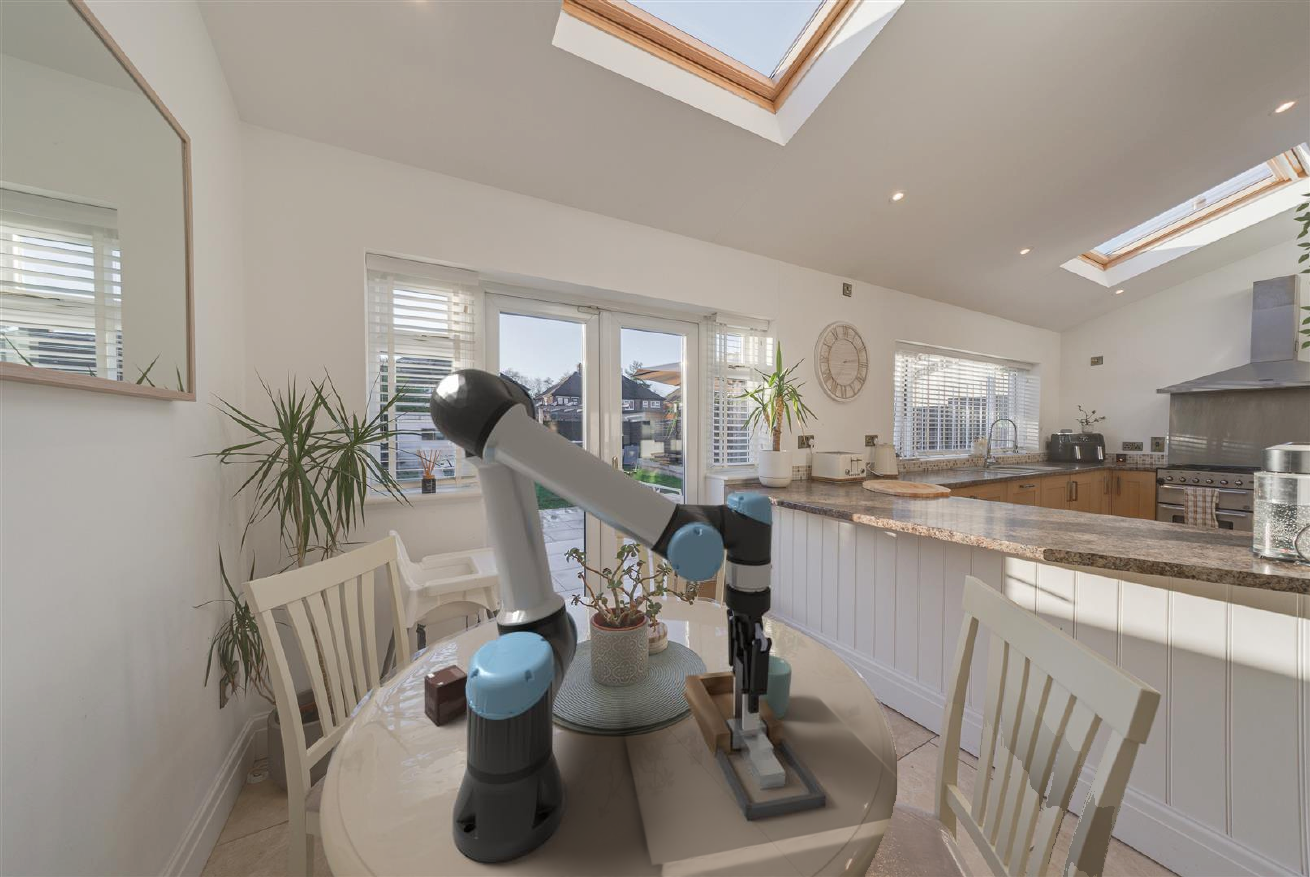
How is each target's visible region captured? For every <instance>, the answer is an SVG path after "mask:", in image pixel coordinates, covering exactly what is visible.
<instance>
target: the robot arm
mask: <svg viewBox="0 0 1310 877" xmlns="http://www.w3.org/2000/svg"><path fill="white" fill-rule="evenodd" d="M537 411H538V410H537V406H536V403H535V401H534V398H533V396H532V395H531V394H530V392H529V391H528V390H527V389H526V388H525V387H524V386H523V385H521V384H520V383H518V382H517V381H515V380H513V379H512V378H508V377H506V376H505V377H504V376H499V375H495V374H493V373H490V372H487V371H484V370H480V369H477V368H463V369H459V370H455V371H453V372H451V373H449V374H447V375H446V376H445V375H444V377H443V378H441V379H440V381H438V383H436V385H435V387H434V388H433V389H432V391H431V396H430V400H429V413H430V418H431V420H432V422H433V425H434V427H435V429H436V430H437V431H438V432H439V433H440V434H441V435H442V436H444V438H446V439H447V440H449V441H450V442H451V443H453V444H455V445H456V446H458V447H460V448H462V449H463V450H464V455H465V459H466V461H467V462H469V463H470V464H472V465H473V466H475V468H476V469H477V470H478V471H477V472H478V477H479V478H478V479H479V482H480V486H481V487H480V488H481V492H482V494H481V495H482V500H483V504H484V508H485V515H486V520H487V525H488V529H489V536H490V541H491V546H492V551H493V557H494V562H495V568H496V573H497V579H498V585H499V590H500V594H501V600H502V608H501V609H500V610H499V612H498V613H497V615H496V617H495V622H496V626H497V632H498V637H497V639H491V640H489V641H487V642H486V643H484V644H483V645H482V646H480V648H479V649H478V650H477V651H476V652H475V653H474V655H473V656H472V658H471V659H470V661H469V662H470V663H469V665H468V670H467V675H468V677H467V683H466V698H467V712H466V769H465V771H464V775H463V778H462V781H461V784H460V787H459V790H458V792H457V796H456V799H455V802H454V805H453V812H452V838H453V840H454V843H455V845H456V847H457V849H458V850H459V851H460V852H461V853H462V854H464V855H465V856H466V855H467V857H468V858H471V859H472V860H475V861H478V862H484V861H485V862H484V863H499V862H506V861H510V860H513V859H517V858H520V857H523V856H525V855H526V854H528V853H530V852H532V851H534V850H536V848H537V847H539V846H541V845H542V844H543V843H544V842H545V841H546V840H548V838H549V837H550V836H551V835H552V834H553V833H554V831H555V830H556V829H557V827H558V825H559V824H560V822H561V820H562V817H563V814H564V810H565V785H564V784H565V783H564V779H563V777H562V773H561V771H560V768H559V765H558V762H557V759H556V756H555V753H554V751H553V750H554V749H553V746H554V744H553V740H554V738H553V736H554V735H553V734H554V707H555V701H556V698H557V695H558V693H559V692H560V690H561V689H560V688H561V687H562V684H563V681H564V679H565V677H566V675H567V673H568V670H569V668H570V667H571V664H572V663H573V660H574V659H575V656H576V652H577V647H578V636H579V634H578V627H577V624H576V622H575V620H574V617H573V616H572V615H571V613H570V612H569V611H567V607H566V601H565V598H564V596H562V595H561V594H560V593H557V592H555V590H554V585H553V584H554V583H553V580H552V574H551V569H550V564H549V558H548V552H547V548H546V542H545V537H544V531H543V525H542V520H541V515H540V509H539V503H538V499H537V494H536V493H537V492H536V487H535V483H537V485H540V486H541V487H543V488H544V489H546V490H548V491H550V492H551V493H554V495H556V496H558V497H559V498H561V499H563V500H564V501H567V502H568V503H569V504H571V505H573V506H575V507H577V508H579V509H580V510H581V511H583V512H585V513H587V514H588V515H590V516H592V518H593V517H594V519H598V521H600V522H602V523H603V524H606V525H607V526H609V527H611V528H612V529H614V530H615V531H617V532H619V533H621V534H622V535H624V536H626V537H628V538H629V539H631V540H633V541H634V542H635V543H637V544H639V545H641V546H643V547H645V548H646V549H647V550H649V551H651V552H653V553H655V554H656V555H657V556H659V557H660V558H662V559H664V560H666V561H667V562H668V563H669V566H670V567H671V568H672V569H673V571H675V573H676V574H677V576H679V577H680V578H681V579H684V580H686V581H688V582H695V583H697V582H705V581H707V580H708V579H711V578H712V577H714V576H715V575H716V574H717V573H718V572H719V571H720V570H721V568H722V566H723V562H724V558H725V581H726V585H725V605H726V607H727V609H726V617H727V641H728V643H727V644H728V648H727V649H728V652H727V654H728V666H729V667H732V670H731V671H732V672H733V675H735V672H736V656H740V655H744V670H745V688H742V689H741V691H742V694H743V699H742V729H743V730H744V731H746V730H753V729H759V698H760V695H766V694H767V686H768V670H769V655H770V653H771V649H772V646H773V640H772V638H771V637H770V636H769V637H766V636H765V634H764V623H763V616H764V615H765V614H766V613H768V612H769V611H770V610H771V604H772V603H771V600H772V597H771V596H772V589H771V588H770V585H771V584H772V583H771V582H772V581H771V577H772V575H771V574H772V569H773V564H772V540H773V539H772V538H773V525H774V522H773V512H772V510H773V509H772V501H771V498H770V497H769V496H768V495H766V494H763V493H760V492H759V493H758V492H751V491H749V492H748V491H747V492H745V491H741V492H731V493H729V494H728V495H727V498H726V501H725V504H724V503H723V504H690V503H689V504H683V503H679V502H674V501H672V500H671V499H669V498H667V497H665V496H664V495H662V494H661V493H659V492H657V491H656V490H653V489H652V488H650V487H649V486H647V485H645V484H644V483H642V482H640V481H638V480H637V479H635V478H633V477H632V476H630V475H628V474H627V473H625V472H623V471H622V470H620V469H618V468H617V467H615V466H613V465H612V464H610V463H608V462H607V461H605V460H603V459H602V458H600V457H598V456H596V455H595V454H593V453H592V452H590V451H589V450H586V449H585V448H583V447H581V446H580V445H578V444H576V443H575V442H573V441H571V440H569V439H568V438H567V437H564V436H563V435H561V434H559V433H558V432H556V431H555V430H553V429H552V428H549V427H548V426H546V425H545V424H543V423H541V422H539V421H537V417H538V416H537V414H538V413H537ZM725 552H726V554H725ZM725 555H726V556H725ZM733 714H734V716H735V677H734V711H733Z"/></svg>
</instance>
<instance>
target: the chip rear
mask: <svg viewBox="0 0 1310 877" xmlns="http://www.w3.org/2000/svg"><path fill="white" fill-rule="evenodd" d="M771 753H773V754H774V747H773V746H772V744H771V743H770V741H769V740H768V738H767V737H766V735H765V734H764V732H763V731H756V732H749V733H742V734H740V755H741V756H742V759H743V761H744V762H745V764H746V765H747V767H748V768H749V759H750V757H751V756H758V755H764V754H771Z"/></svg>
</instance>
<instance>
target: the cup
mask: <svg viewBox="0 0 1310 877" xmlns="http://www.w3.org/2000/svg"><path fill="white" fill-rule="evenodd" d="M791 683H792V666H791V665H790V663H789V662H788V661H786V660H785V659H782V658H781V657H779V656H775V655H771V654H769V670H768V686H767V694H766V695H760V698H759V699H762V700H764V701H765V702H766V704H767V705H768V706H769V708H770V709H771V710H772V712H773V713H774V714H775V716H776V717H777V718H778V719H781V718H782V717H783V718H784V716H785V715H786V712H787V710H788V706H789V700H790V694H791Z"/></svg>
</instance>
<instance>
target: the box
mask: <svg viewBox="0 0 1310 877" xmlns="http://www.w3.org/2000/svg"><path fill="white" fill-rule="evenodd" d="M467 677H468V673H466V672H464V671H463V670H462V669H461V668H460V667H459V666H457V665H456V664H453V665H450V666H447V667H445V668H442V669H440V670H437V671H433V672H431V673H429V674H426V675H425V676H424V677H423V678H424V714H425V715H426V716H427V717H428V718H429V719H430V720H431V721H432V723H434V725H435V726H440V725H442V724H444V723H447V722H449V721H451V720H453V719H455V718H457V717H459V716H461V715H464V714H465V713H466V714H467V698H466V683H467Z"/></svg>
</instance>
